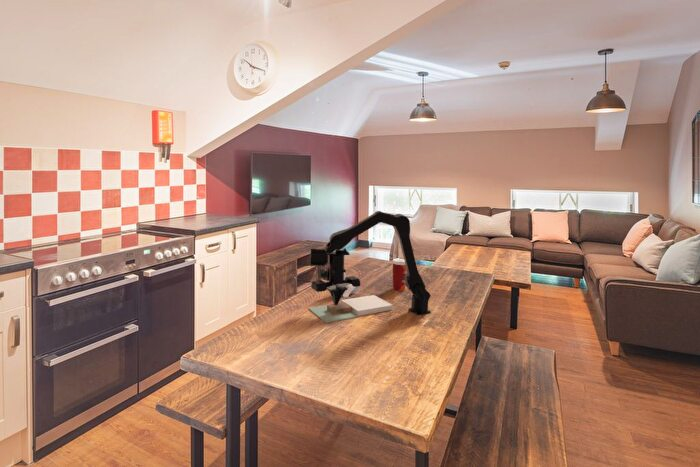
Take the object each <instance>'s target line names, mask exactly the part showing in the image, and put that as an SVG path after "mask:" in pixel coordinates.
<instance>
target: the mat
mask: <svg viewBox="0 0 700 467" xmlns="http://www.w3.org/2000/svg"><path fill="white" fill-rule="evenodd" d="M327 305H328V304H326V305H318V306H312V307H308V310H309V311H310V312H312V313H313V314H314V315H316V316H317V317H318V318H319V319H320V320H322V322H324V323H331V322H332V323H333V322H339V321H342V320H349V319H355V318H359V317H360V316H359V315H357V314H356V313H354V312H348V313H342V314H336V315H333V314H332V313H331V312H329V311H328V310H327Z"/></svg>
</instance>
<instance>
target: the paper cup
mask: <svg viewBox="0 0 700 467" xmlns="http://www.w3.org/2000/svg"><path fill="white" fill-rule="evenodd" d="M391 262H392V289H393V291H397V292H404V291H405V290H406V285H405V279H404V277H403V276H407V269H406V265H405V261H404V258H393V259H392V261H391Z"/></svg>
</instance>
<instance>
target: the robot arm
mask: <svg viewBox="0 0 700 467" xmlns="http://www.w3.org/2000/svg"><path fill="white" fill-rule="evenodd" d="M380 223H382V224H385V225H388V226H392V228H393V230H394V232H395V234H396V235H397V237H398V240H399V244H400V248H401V252H402V255H403V256H402V257H403V259H404V261H405V265H406V269H407V276H403V277H404V279H405V285H406V286H405V288H407V289H408V290H409V291H410V292H411V293H412V295H411V296H412V297H411V307H408V311H410V312H412V313H414V314H416V315H418V316H419V315H424V314H429V313H430V314H431V313H432V312H431V311H432V310H430V309H429V300H430V298H431V293H430V292H429V291H428V290H427V289H426V285H425V282H424V280H423V278H422V276H421V274H420V273H419V270H418V266H417V262H416V261H417V260H416V259H415V253H414V250H413V245H412V241H411V222H410V218H408V217H407V216H406V215H404V214H401V213H397V214H392V213H388V212H383V211H380V210H377V211H375V212H374V213H373V214H371V215H368V217H366V218H364V219H362V220H360V221H359V222H357V223H356V224H354V225H352V226H350V227H348V228H345V229H342V230H338V231H335V232H333V233H332V234H331V235H330V237H329V241H327V242H328V243H327V244H326V245H325V246H324V248H316V247H310V256H309V266H310V267H325V266H326V265H327V264H328V263H329V264H328V267H327V269H326V270H325V269H324V268H323V269H319V270H318V280H313V281H312V282H311V284H310V285H311V289H312V290H314V291H316V292H318V293H321V292H325V291H326V290H327V291H328V292H329V294H330V297H331V299H332V301H333V304H334V305H338V303H340V302H341V300H342V299H341V298H343V294H344V292H345V290H347V289H348V288H346V285H348V284H352V286H353V287H358V286H360V287H361V280H360V278H358V277H356V276H354V275H352V276H346V278H345V280H344V272H345V273H346V272H347V270H346V268H345V256H350V252H349V251H348V250H347V248H346V246H347V245H348V244H350V242H351V241H352V240H354V239H355V238H357V237H358V236H359V235H361V234H363V233H365V232H366V231H368V230H370V229H372V228H373V227H375V226H376V225H379V224H380ZM325 280H326V282H325Z"/></svg>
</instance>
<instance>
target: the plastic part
mask: <svg viewBox="0 0 700 467" xmlns="http://www.w3.org/2000/svg"><path fill="white" fill-rule="evenodd" d="M346 277H347V274H346V272H344V280H345V278H346ZM360 287H361V285H360V286H358V287H353V286H352V284H348V285H346V288H348V289H347V290H345V292H344V294H343V295H342V298H346V299H349V295H350V294H354V295H357V294H358V293H359V292H360V289H361V288H360Z"/></svg>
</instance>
